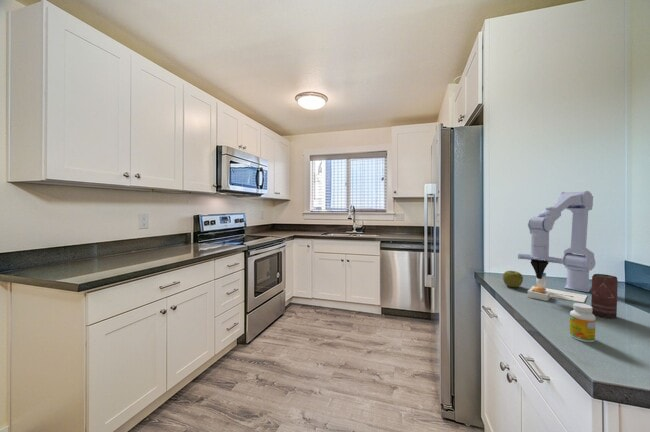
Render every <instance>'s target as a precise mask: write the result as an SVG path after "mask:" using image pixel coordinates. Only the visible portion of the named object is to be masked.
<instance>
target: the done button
mask: <svg viewBox="0 0 650 432" xmlns="http://www.w3.org/2000/svg"><path fill="white" fill-rule="evenodd" d="M533 286H534V292H538V293H543V294H545V288H543V287H539V286H535V285H533Z"/></svg>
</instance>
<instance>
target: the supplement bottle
mask: <svg viewBox="0 0 650 432" xmlns="http://www.w3.org/2000/svg"><path fill="white" fill-rule="evenodd" d="M572 306H573V307H572V308H573V310H571V311H569V336H570V337H571V338H572V339H575V340H578V341H580V342H584V343H594V342H595V341H596V322H597V321H596V320H597V319H596V317H597V316H596V315H594V314H593V313H592V311H593V310H592V306H591V305H589V304H586V303H581V302H574V303H573V305H572Z"/></svg>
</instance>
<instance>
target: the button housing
mask: <svg viewBox="0 0 650 432" xmlns="http://www.w3.org/2000/svg"><path fill="white" fill-rule="evenodd" d="M530 288H531V287H530ZM530 288H529V289H530ZM529 289H528V290H527V291H528V292H527V298H530V299H536V300H540V301H545V302H548V301H549V300H550V299H551V298H552V297H551V291H547V290H545V294H543V293H538V292H534V288H531V289H530V290H529Z"/></svg>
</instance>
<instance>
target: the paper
mask: <svg viewBox="0 0 650 432" xmlns="http://www.w3.org/2000/svg"><path fill="white" fill-rule="evenodd" d="M534 286H535V285H532V286H531V287H530V288H529V289H528V290H530V289H531V288H534ZM528 290H527V291H526V292H527V293H528ZM546 290H547V291H551V297H550V298H555V299H561V300H566V301H571V302H575V303H582V304H585V301H586V300H587V297H588V295H586V294H582V293H576V292H569V291H565V290H564V291H563V290H559V289H553V288H552V289H551V288H548V287H546Z"/></svg>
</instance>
